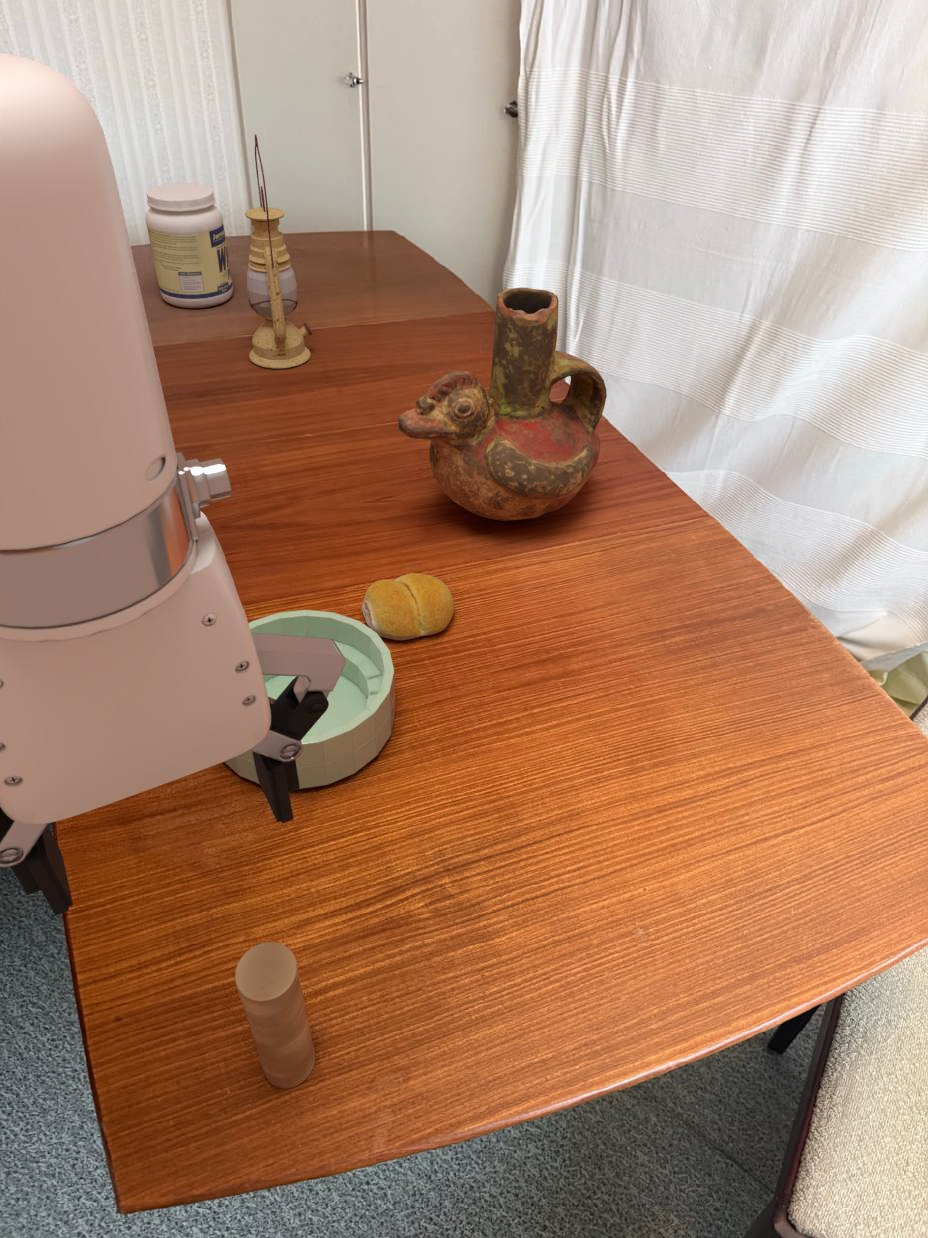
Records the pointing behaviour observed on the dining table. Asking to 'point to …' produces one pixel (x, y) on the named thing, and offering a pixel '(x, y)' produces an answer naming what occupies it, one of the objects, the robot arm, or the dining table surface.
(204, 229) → the supplement tub
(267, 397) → the dining table surface
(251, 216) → the lantern
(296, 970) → the stirring stick
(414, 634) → the bread roll
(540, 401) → the ceramic vessel
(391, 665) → the bowl
